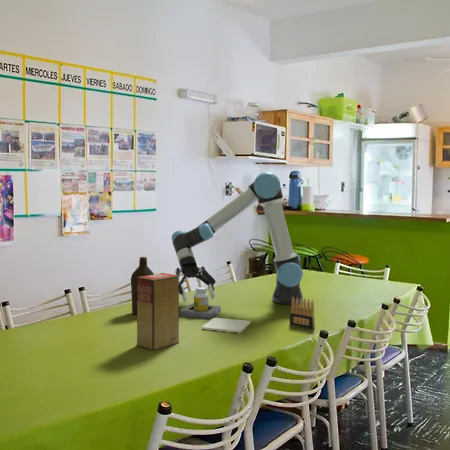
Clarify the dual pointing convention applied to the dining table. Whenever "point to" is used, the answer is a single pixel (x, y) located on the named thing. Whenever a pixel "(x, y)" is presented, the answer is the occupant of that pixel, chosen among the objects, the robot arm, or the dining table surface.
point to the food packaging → (157, 310)
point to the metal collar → (200, 312)
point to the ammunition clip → (302, 314)
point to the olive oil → (139, 272)
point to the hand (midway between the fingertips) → (199, 298)
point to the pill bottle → (201, 299)
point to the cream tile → (226, 325)
